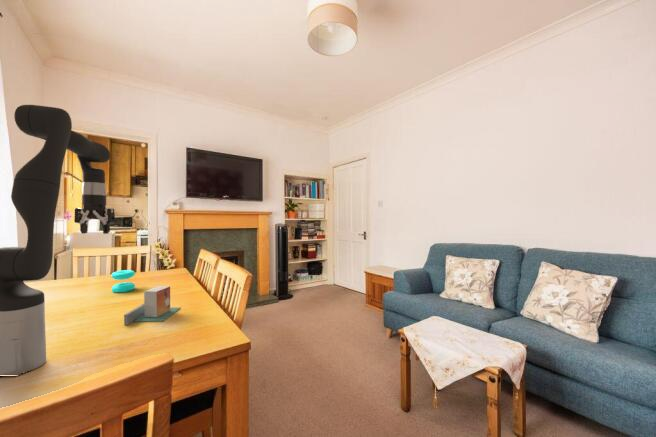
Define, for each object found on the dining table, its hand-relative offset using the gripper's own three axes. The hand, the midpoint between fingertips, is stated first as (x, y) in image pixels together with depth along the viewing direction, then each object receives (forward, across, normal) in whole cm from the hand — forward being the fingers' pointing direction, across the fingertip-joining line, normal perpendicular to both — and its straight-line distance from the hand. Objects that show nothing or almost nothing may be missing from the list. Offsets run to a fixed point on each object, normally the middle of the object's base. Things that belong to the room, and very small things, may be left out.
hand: (95, 233), depth 114 cm
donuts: (+34, -10, +32) cm, 47 cm away
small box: (+33, +26, -3) cm, 42 cm away
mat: (+33, +26, -3) cm, 42 cm away
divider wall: (+33, +20, -3) cm, 39 cm away
